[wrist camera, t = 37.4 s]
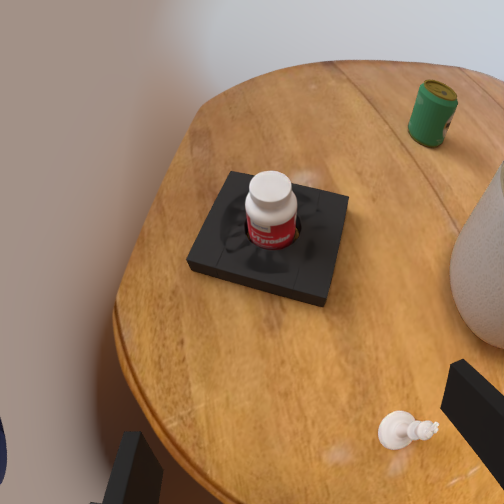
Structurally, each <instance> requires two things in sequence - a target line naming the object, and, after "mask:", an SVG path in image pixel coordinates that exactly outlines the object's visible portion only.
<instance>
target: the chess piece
mask: <svg viewBox="0 0 504 504" xmlns="http://www.w3.org/2000/svg"><path fill="white" fill-rule="evenodd" d="M438 426H439V424H438V423H437V422H434V424H433V423H432V422H431V421H423V422H421V421H415V419H414V417H413V416H412V415H411V414H410V413H408V412H405V411H394V412H392V413H390V414H388V415H387V416H386V417H385V418H384V419H383V420H382V422H381V424H380V426H379V430H378V437H379V440H380V442H381V444H382V445H383V446H384V447H386V448H388V449H391V450H397V449H401V448H404V447H406V446H407V445H409V444H410V443H411V442H412V440H418V439H421V440H428V439H430V438H431V437H432V436H433V434H434V433H436V432H437V431H438V430H439V429H438V428H437V427H438Z"/></svg>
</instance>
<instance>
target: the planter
mask: <svg viewBox="0 0 504 504" xmlns="http://www.w3.org/2000/svg"><path fill="white" fill-rule="evenodd" d="M450 285H451V290H452V295H453V298H454V301H455V304H456V306H457V309H458V311H459V313H460V315H461V317H462V318H463V320H464V322H465V323H466V324H467V326H468V327H469V328H470V329H471V331H472V332H473V333H474V334H475V335H476V336H478V337H479V338H480V339H481V340H483V341H484V342H486V343H488V344H490V345H492V346H495V347H498V348H503V349H504V161H503V162H502V164H501V165H500V167H499V168H498V170H497V172H496V173H495V175H494V177H493V179H492V180H491V182H490V184H489V185H488V187H487V189H486V190H485V192H484V194H483V195H482V197H481V199H480V200H479V202H478V203H477V205H476V206H475V208H474V210H473V211H472V213H471V215H470V216H469V218H468V220H467V221H466V223H465V224H464V226H463V228H462V230H461V232H460V234H459V236H458V238H457V240H456V242H455V245H454V248H453V251H452V255H451V261H450Z"/></svg>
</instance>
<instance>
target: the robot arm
mask: <svg viewBox="0 0 504 504" xmlns="http://www.w3.org/2000/svg"><path fill="white" fill-rule="evenodd" d="M440 409H441V410H442V411H443V412H444V414H445V415H446V416H447V417H448V418H449V420H450V421H451V422H452V423H453V425H454V426H455V427H456V428H457V430H458V431H459V432H460V433H461V435H462V436H463V437H464V439H465V440H466V441H467V442H468V444H469V445H470V446H471V447H472V449H473V450H474V451H475V453H476V454H477V455H478V457H479V458H480V459H481V460H482V462H483V463H484V464H485V466H486V467H487V468H488V470H489V471H490V472H491V474H492V475H493V476H494V478H495V479H496V480H497V482H498V483H499V484H500V486H501V487H502V488H503V490H504V396H503V395H502V394H501V393H500V392H499V391H498V390H497V389H496V388H495V387H494V386H493V385H492V384H491V383H489V382H488V381H487V380H486V379H485V378H484V377H483V376H482V375H481V374H480V373H479V372H478V371H476V370H475V369H474V368H473V367H472V366H471V365H470V364H469V363H468V362H466V361H465V360H464V359H461V360H459V361H457V362H454V363H452V364H450V369H449V374H448V379H447V383H446V387H445V392H444V396H443V400H442V404H441V407H440ZM162 477H163V468H162V467H161V465H160V463H159V462H158V460H157V458H156V457H155V455H154V454H153V452H152V450H151V448H150V447H149V445H148V443H147V442H146V440H145V438H144V436H143V434H142V432H141V431H139V432H124V434H123V437H122V441H121V443H120V446H119V449H118V453H117V456H116V459H115V462H114V465H113V469H112V472H111V475H110V479H109V482H108V485H107V489H106V492H105V496H104V499H103V503H102V504H158V503H159V496H160V490H161V483H162ZM90 504H101V503H94V502H91V503H90Z"/></svg>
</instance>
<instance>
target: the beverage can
mask: <svg viewBox="0 0 504 504" xmlns="http://www.w3.org/2000/svg"><path fill="white" fill-rule="evenodd" d="M457 105H458V101H457V94H456V93H455V92H454V91H453V90H452V89H451V88H450V87H448V86H447V85H445V84H443V83H441V82H439V81H435V80H426V81H424V83H423V84H421V85H420V88H419V91H418V95H417V98H416V102H415V105H414V108H413V112H412V115H411V118H410V121H409V125H408V128H409V133H410V135H411V137H412V138H413V139H414V140H415V141H416V142H418V143H419V144H421V145H424V146H426V147H437V146H438V145H440V144H441V143H442V142H443V140H444V138H445V135H446V133H447V130H448V128H449V125H450V123H451V120H452V118H453V115H454V113H455V110H456V107H457Z"/></svg>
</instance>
